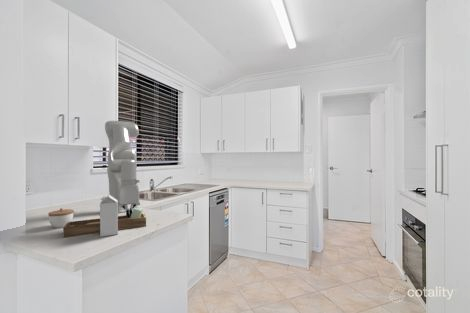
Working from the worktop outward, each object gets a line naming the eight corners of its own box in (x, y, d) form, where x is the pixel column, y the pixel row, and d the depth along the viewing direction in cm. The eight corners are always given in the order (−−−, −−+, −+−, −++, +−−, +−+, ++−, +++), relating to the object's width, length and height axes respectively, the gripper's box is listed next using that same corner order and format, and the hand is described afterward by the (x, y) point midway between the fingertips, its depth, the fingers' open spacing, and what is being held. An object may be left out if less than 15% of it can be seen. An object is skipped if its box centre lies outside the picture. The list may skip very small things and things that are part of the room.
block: (132, 215, 123) (136, 206, 123) (140, 217, 123) (143, 209, 124) (130, 217, 119) (133, 208, 119) (137, 219, 119) (140, 210, 120)
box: (68, 231, 112) (68, 222, 112) (144, 221, 127) (144, 213, 127) (63, 237, 103) (63, 227, 103) (146, 226, 118) (145, 217, 118)
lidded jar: (53, 224, 124) (53, 207, 124) (76, 222, 127) (76, 205, 127) (44, 230, 114) (44, 211, 114) (70, 227, 117) (69, 209, 117)
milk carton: (117, 230, 112) (117, 191, 112) (117, 234, 106) (117, 193, 106) (101, 232, 109) (100, 193, 109) (100, 237, 103) (99, 195, 103)
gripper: (143, 181, 128) (143, 213, 128) (113, 183, 121) (113, 217, 121) (144, 182, 121) (144, 217, 121) (112, 184, 115) (113, 220, 115)
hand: (129, 217), depth 121 cm, fingers closed
